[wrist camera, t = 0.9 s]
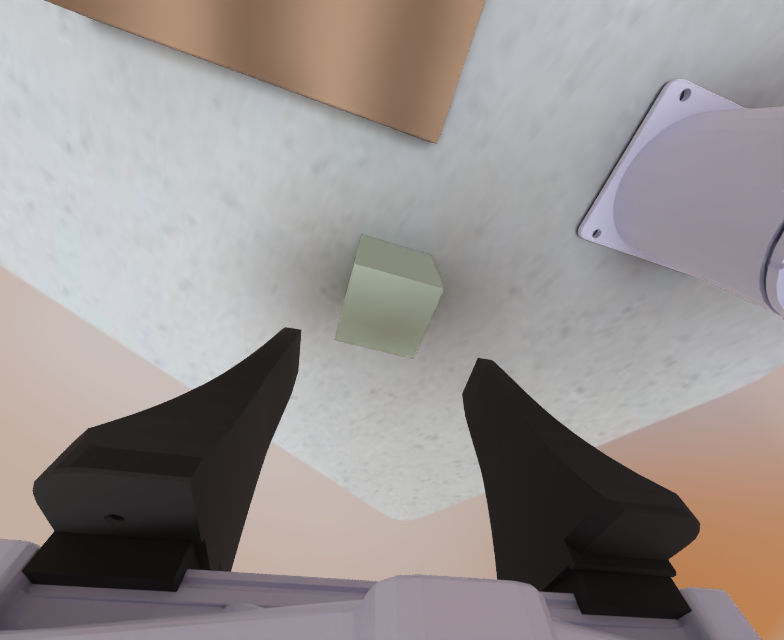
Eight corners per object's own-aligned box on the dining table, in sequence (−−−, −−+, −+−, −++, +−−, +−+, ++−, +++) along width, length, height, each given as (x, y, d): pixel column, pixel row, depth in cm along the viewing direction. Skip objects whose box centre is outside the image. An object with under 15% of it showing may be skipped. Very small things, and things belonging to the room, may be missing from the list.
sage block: (431, 254, 20) (444, 288, 15) (408, 314, 22) (413, 358, 18) (361, 233, 19) (354, 263, 15) (344, 297, 21) (334, 340, 17)
